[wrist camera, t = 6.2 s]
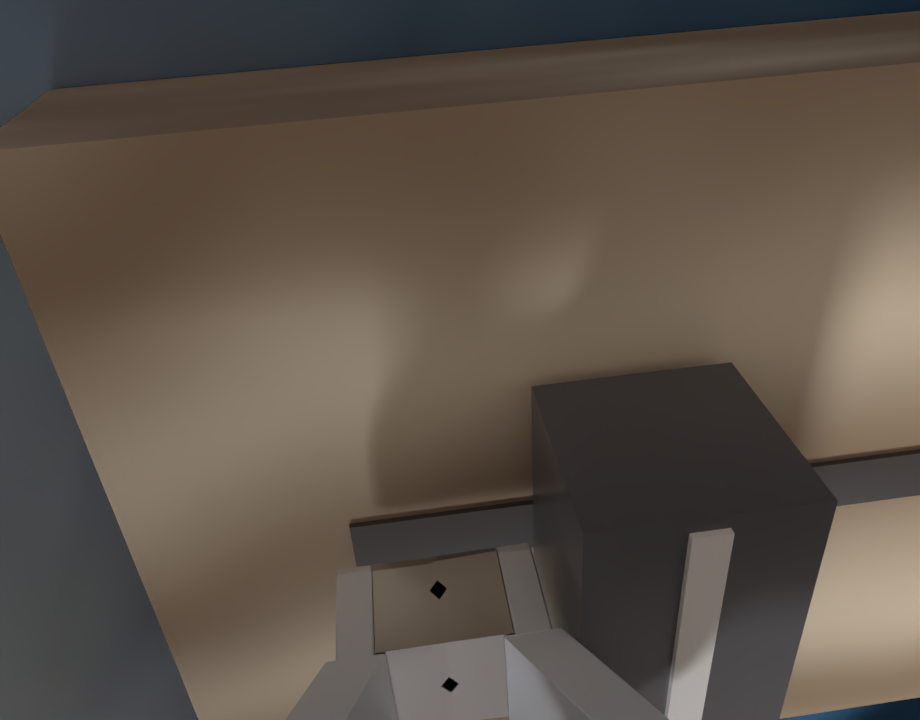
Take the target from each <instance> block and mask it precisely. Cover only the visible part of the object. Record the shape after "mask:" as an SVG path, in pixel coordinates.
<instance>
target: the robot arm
mask: <svg viewBox="0 0 920 720" xmlns="http://www.w3.org/2000/svg"><path fill="white" fill-rule="evenodd" d="M506 716H509V719H510V720H669V719H668V718H667V717H666V716H665V715H664V714H662V713H661V712H660V711H659V710H658V709H657V708H655V707H654V706H653V705H652V704H651V703H650V702H648V701H647V700H646V699H645V698H644V697H643V696H641V695H640V694H639V693H638V692H637V691H636V690H634V689H633V688H632V687H631V686H630V685H629V684H627V683H626V682H625V681H624V680H623V679H622V678H620V677H619V676H618V675H617V674H616V673H615V672H613V671H612V670H611V669H610V668H609V667H608V666H607V665H605V664H604V663H603V662H602V661H601V660H600V659H598V658H597V657H596V656H595V655H594V654H593V653H591V652H590V651H589V650H588V649H587V648H586V647H584V646H583V645H582V644H581V643H579V641H577V640H576V639H575V638H574V637H573V636H572V635H570V634H569V633H568V632H567V631H566V630H565V629H563V628H556V629H553V627H552V624H551V620H550V616H549V612H548V609H547V605H546V601H545V598H544V594H543V590H542V586H541V583H540V579H539V575H538V572H537V568H536V564H535V560H534V557H533V553H532V549H531V547H530V546H529V544H528V543H523V544H516V545H510V546H503V547H496V549H495V548H488V549H481V550H474V551H468V552H461V553H454V554H448V555H441V556H434V557H432V558H423V559H414V560H406V561H397V562H388V563H379V564H373V565H366V566H358V567H349V568H340V569H339V571H338V575H337V594H336V653H335V661H330V662H325V664H324V665H323V667H322V668H321V670H320V671H319V672H318V674H317V675H316V677H315V678H314V680H313V681H312V682H311V684H310V685H309V687H308V688H307V690H306V691H305V693H304V694H303V695H302V697H301V698H300V700H299V701H298V703H297V704H296V705H295V707H294V708H293V710H292V711H291V713H290V714H289V716H288V717H287V718H286V720H482V719H490V718H498V717H506Z"/></svg>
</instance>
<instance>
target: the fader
mask: <svg viewBox="0 0 920 720" xmlns="http://www.w3.org/2000/svg"><path fill="white" fill-rule="evenodd" d="M531 403H532V472H533V540H534V560H535V564H536V568H537V572H538V575H539V579H540V583H541V586H542V590H543V594H544V598H545V601H546V605H547V609H548V612H549V616H550V620H551V624H552V627H553V629H556V628H563V629H565V630H566V631H567V632H568V633H569V634H570V635H572V636H573V637H574V638H575V639H576V640H577V641H579V643H581V644H582V645H583V646H584V647H586V648H587V649H588V650H589V651H590V652H591V653H593V654H594V655H595V656H596V657H597V658H598V659H600V660H601V661H602V662H603V663H604V664H605V665H607V666H608V667H609V668H610V669H611V670H612V671H613V672H615V673H616V674H617V675H618V676H619V677H620V678H622V679H623V680H624V681H625V682H626V683H627V684H629V685H630V686H631V687H632V688H633V689H634V690H636V691H637V692H638V693H639V694H640V695H641V696H643V697H644V698H645V699H646V700H647V701H648V702H650V703H651V704H652V705H653V706H654V707H655V708H657V709H658V710H659V711H660V712H661V713H662V714H664V715H665V716H666V717H667V718H668V719H669V720H779V718H780V715H781V711H782V707H783V703H784V700H785V696H786V692H787V689H788V685H789V681H790V677H791V674H792V670H793V666H794V663H795V659H796V655H797V651H798V648H799V644H800V640H801V637H802V633H803V629H804V625H805V622H806V618H807V614H808V611H809V607H810V603H811V599H812V596H813V592H814V588H815V585H816V581H817V577H818V573H819V570H820V566H821V562H822V559H823V555H824V551H825V547H826V544H827V540H828V536H829V533H830V529H831V525H832V521H833V518H834V514H835V510H836V507H837V503H838V500H837V499H836V498H835V497H834V495H833V494H832V493H831V491H830V490H829V489H828V487H827V486H826V485H825V483H824V482H823V481H822V480H821V478H820V477H819V476H818V474H817V473H816V472H815V470H814V469H813V468H812V467H811V465H810V464H809V463H808V461H807V460H806V459H805V457H804V456H803V455H802V453H801V452H800V451H799V450H798V448H797V447H796V446H795V444H794V443H793V442H792V440H791V439H790V438H789V437H788V435H787V434H786V433H785V431H784V430H783V429H782V427H781V426H780V425H779V423H778V422H777V421H776V420H775V418H774V417H773V416H772V414H771V413H770V412H769V410H768V409H767V408H766V407H765V405H764V404H763V403H762V401H761V400H760V399H759V397H758V396H757V395H756V394H755V392H754V391H753V390H752V388H751V387H750V386H749V384H748V383H747V382H746V380H745V379H744V378H743V377H742V375H741V374H740V373H739V371H738V370H737V369H736V367H735V366H734V365H733V364H732V362H729V363H721V364H712V365H704V366H696V367H687V368H679V369H671V370H663V371H654V372H646V373H638V374H629V375H621V376H613V377H604V378H596V379H588V380H580V381H571V382H563V383H555V384H546V385H538V386H531Z"/></svg>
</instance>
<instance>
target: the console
mask: <svg viewBox="0 0 920 720" xmlns="http://www.w3.org/2000/svg"><path fill="white" fill-rule="evenodd" d="M0 235H1V238H2V240H3V243H4V245H5V248H6V250H7V253H8V255H9V257H10V260H11V262H12V265H13V267H14V270H15V272H16V275H17V277H18V280H19V282H20V284H21V287H22V289H23V292H24V294H25V297H26V299H27V302H28V304H29V306H30V309H31V311H32V314H33V316H34V319H35V321H36V324H37V326H38V328H39V331H40V333H41V336H42V338H43V341H44V343H45V346H46V348H47V350H48V353H49V355H50V358H51V360H52V363H53V365H54V368H55V370H56V372H57V375H58V377H59V380H60V382H61V385H62V387H63V390H64V392H65V394H66V397H67V399H68V402H69V404H70V407H71V409H72V412H73V414H74V416H75V419H76V421H77V424H78V426H79V429H80V431H81V434H82V436H83V438H84V441H85V443H86V446H87V448H88V451H89V453H90V456H91V458H92V460H93V463H94V465H95V468H96V470H97V473H98V475H99V478H100V480H101V482H102V485H103V487H104V490H105V492H106V495H107V497H108V500H109V502H110V504H111V507H112V509H113V512H114V514H115V517H116V519H117V522H118V524H119V526H120V529H121V531H122V534H123V536H124V539H125V541H126V544H127V546H128V548H129V551H130V553H131V556H132V558H133V561H134V563H135V566H136V568H137V570H138V573H139V575H140V578H141V580H142V583H143V585H144V588H145V590H146V592H147V595H148V597H149V600H150V602H151V605H152V607H153V610H154V612H155V614H156V617H157V619H158V622H159V624H160V627H161V629H162V632H163V634H164V636H165V639H166V641H167V644H168V646H169V649H170V651H171V654H172V656H173V658H174V661H175V663H176V666H177V668H178V671H179V673H180V676H181V678H182V680H183V683H184V685H185V688H186V690H187V693H188V695H189V698H190V700H191V702H192V705H193V707H194V710H195V712H196V715H197V717H198V720H286V718H287V717H288V716H289V714H290V713H291V711H292V710H293V708H294V707H295V705H296V704H297V703H298V701H299V700H300V698H301V697H302V695H303V694H304V693H305V691H306V690H307V688H308V687H309V685H310V684H311V682H312V681H313V680H314V678H315V677H316V675H317V674H318V672H319V671H320V670H321V668H322V667H323V665H324V664H325V662H330V661H335V653H336V594H337V575H338V571H339V569H340V568H349V567H358V566H366V565H373V564H379V563H388V562H397V561H406V560H414V559H423V558H432V557H434V556H441V555H448V554H454V553H461V552H468V551H474V550H481V549H488V548H495V549H496V547H503V546H510V545H516V544H523V543H528V544H529V546H530V547H531V549H532V553H533V557H534V540H533V472H532V403H531V386H538V385H546V384H555V383H563V382H571V381H580V380H588V379H596V378H604V377H613V376H621V375H629V374H638V373H646V372H654V371H663V370H671V369H679V368H687V367H696V366H704V365H712V364H721V363H729V362H732V364H733V365H734V366H735V367H736V369H737V370H738V371H739V373H740V374H741V375H742V377H743V378H744V379H745V380H746V382H747V383H748V384H749V386H750V387H751V388H752V390H753V391H754V392H755V394H756V395H757V396H758V397H759V399H760V400H761V401H762V403H763V404H764V405H765V407H766V408H767V409H768V410H769V412H770V413H771V414H772V416H773V417H774V418H775V420H776V421H777V422H778V423H779V425H780V426H781V427H782V429H783V430H784V431H785V433H786V434H787V435H788V437H789V438H790V439H791V440H792V442H793V443H794V444H795V446H796V447H797V448H798V450H799V451H800V452H801V453H802V455H803V456H804V457H805V459H806V460H807V461H808V463H809V464H810V465H811V467H812V468H813V469H814V470H815V472H816V473H817V474H818V476H819V477H820V478H821V480H822V481H823V482H824V483H825V485H826V486H827V487H828V489H829V490H830V491H831V493H832V494H833V495H834V497H835V498H836V499H837V500H838V503H837V507H836V510H835V514H834V518H833V521H832V525H831V529H830V533H829V536H828V540H827V544H826V547H825V551H824V555H823V559H822V562H821V566H820V570H819V573H818V577H817V581H816V585H815V588H814V592H813V596H812V599H811V603H810V607H809V611H808V614H807V618H806V622H805V625H804V629H803V633H802V637H801V640H800V644H799V648H798V651H797V655H796V659H795V663H794V666H793V670H792V674H791V677H790V681H789V685H788V689H787V692H786V696H785V700H784V703H783V707H782V711H781V715H780V718H779V719H782V718H788V717H795V716H801V715H808V714H814V713H821V712H827V711H834V710H841V709H847V708H854V707H860V706H867V705H873V704H880V703H886V702H893V701H899V700H906V699H912V698H919V697H920V11H911V12H900V13H889V14H878V15H867V16H856V17H845V18H834V19H823V20H812V21H801V22H790V23H779V24H768V25H757V26H745V27H734V28H723V29H712V30H701V31H690V32H679V33H668V34H657V35H646V36H635V37H624V38H613V39H602V40H591V41H580V42H568V43H557V44H546V45H535V46H524V47H513V48H502V49H491V50H480V51H469V52H458V53H447V54H436V55H425V56H414V57H403V58H391V59H380V60H369V61H358V62H347V63H336V64H325V65H314V66H303V67H292V68H281V69H270V70H259V71H248V72H237V73H226V74H215V75H203V76H192V77H181V78H170V79H159V80H148V81H137V82H126V83H115V84H104V85H93V86H82V87H71V88H60V89H50V90H48V91H47V92H46V93H44V94H43V95H42V96H40V97H39V98H38V99H37V100H35V101H34V102H33V103H31V104H30V105H29V106H27V107H26V108H25V109H23V110H22V111H21V112H20V113H18V114H17V115H16V116H14V117H13V118H12V119H10V120H9V121H8V122H7V123H5V124H4V125H3V126H1V127H0ZM482 720H510V719H509V716H506V717H498V718H490V719H482Z"/></svg>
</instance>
